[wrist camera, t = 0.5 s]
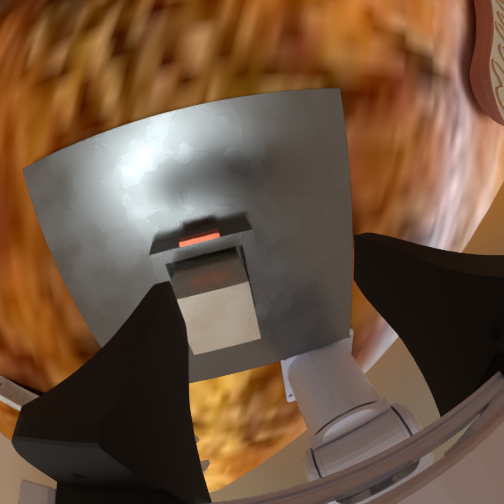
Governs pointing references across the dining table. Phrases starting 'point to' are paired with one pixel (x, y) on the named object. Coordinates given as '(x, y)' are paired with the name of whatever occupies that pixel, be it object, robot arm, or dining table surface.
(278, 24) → the dining table surface
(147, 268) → the stand
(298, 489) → the robot arm
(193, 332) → the grey block
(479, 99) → the brown rounded block
